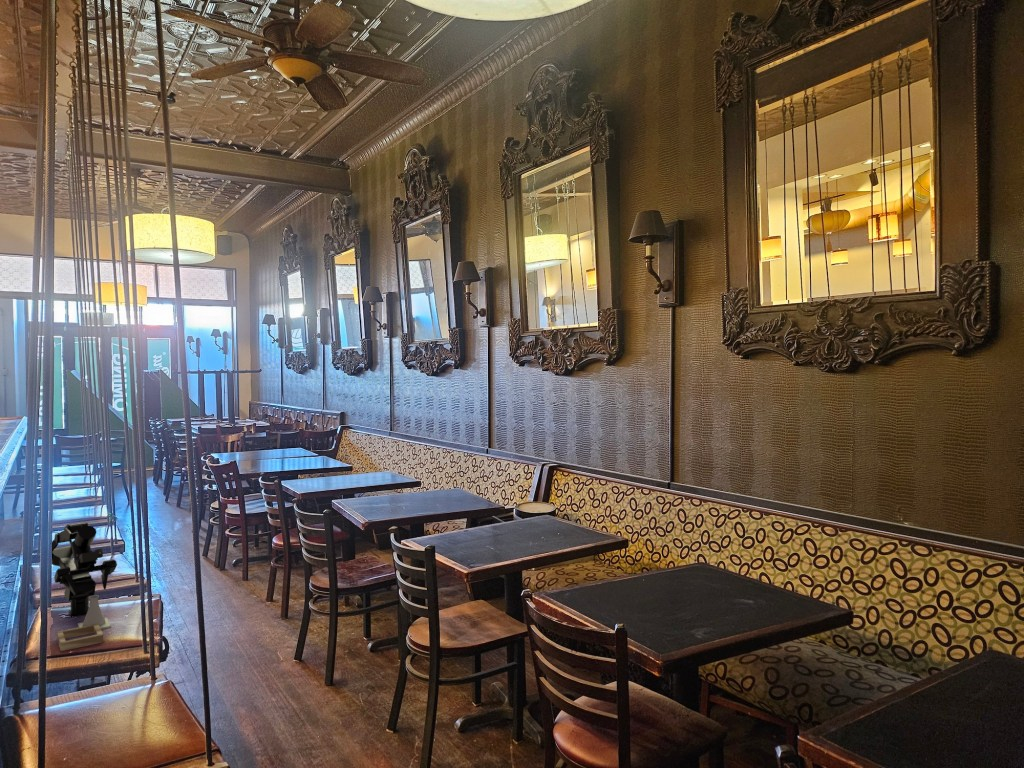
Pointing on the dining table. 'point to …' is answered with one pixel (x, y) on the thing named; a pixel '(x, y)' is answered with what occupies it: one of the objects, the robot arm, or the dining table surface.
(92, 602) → the flask
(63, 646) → the oak cradle
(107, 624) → the sage pad
